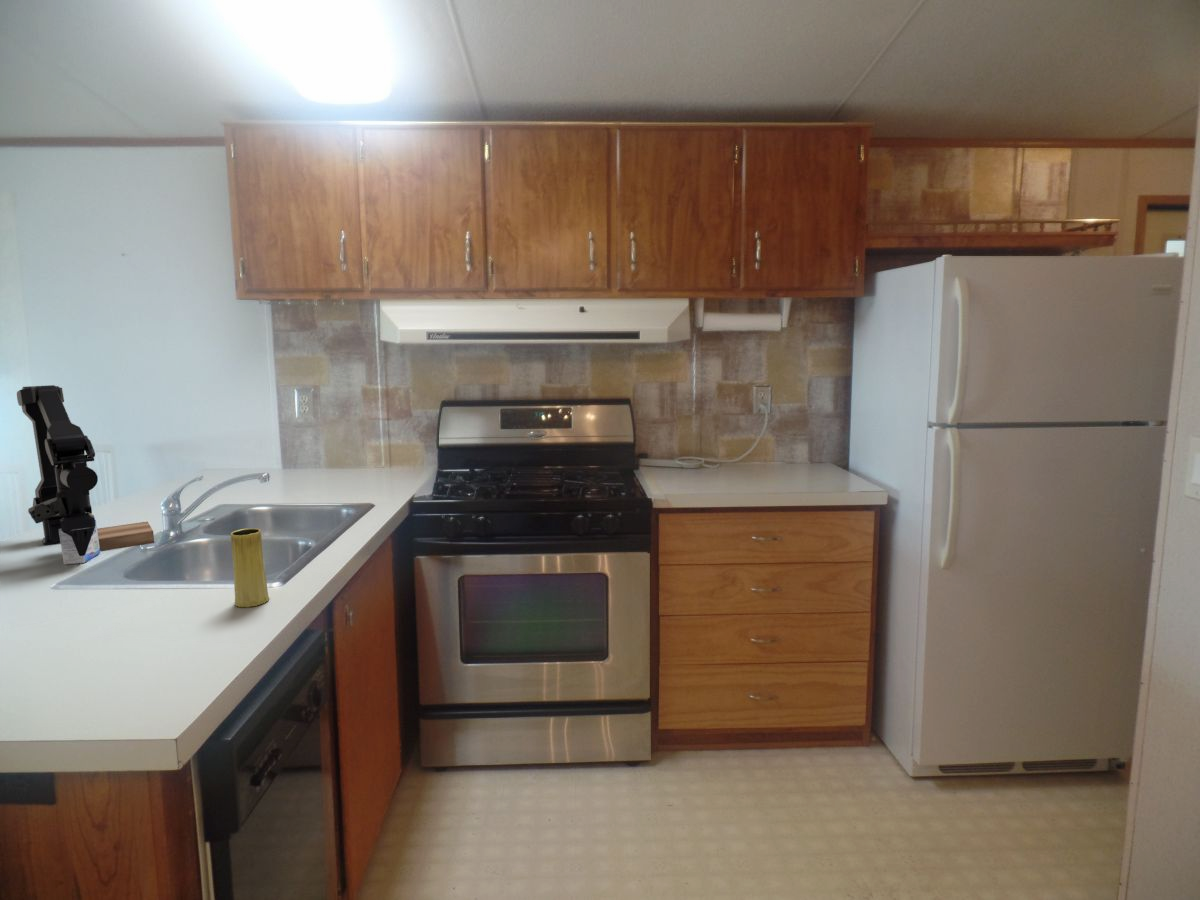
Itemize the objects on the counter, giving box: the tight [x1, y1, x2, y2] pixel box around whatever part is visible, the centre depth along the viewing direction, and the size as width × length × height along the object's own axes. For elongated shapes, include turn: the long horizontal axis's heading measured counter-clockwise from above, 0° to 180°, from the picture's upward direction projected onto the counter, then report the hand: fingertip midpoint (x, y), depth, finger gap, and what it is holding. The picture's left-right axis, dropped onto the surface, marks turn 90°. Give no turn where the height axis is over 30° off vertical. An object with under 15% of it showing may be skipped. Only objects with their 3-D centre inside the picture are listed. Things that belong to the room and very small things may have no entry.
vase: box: [230, 527, 270, 608], centre depth 137 cm, size 6×6×14 cm
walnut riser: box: [97, 521, 155, 552], centre depth 179 cm, size 12×12×3 cm
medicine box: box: [59, 519, 101, 565], centre depth 165 cm, size 8×4×9 cm, turn 13°
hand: (81, 550), depth 165 cm, fingers closed on medicine box, 9 cm apart
